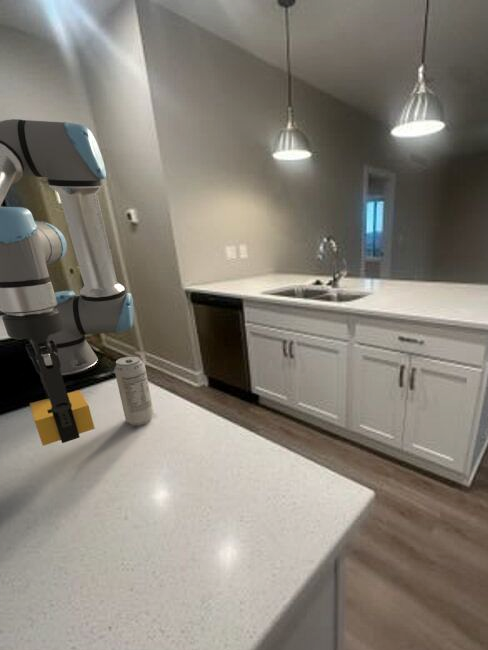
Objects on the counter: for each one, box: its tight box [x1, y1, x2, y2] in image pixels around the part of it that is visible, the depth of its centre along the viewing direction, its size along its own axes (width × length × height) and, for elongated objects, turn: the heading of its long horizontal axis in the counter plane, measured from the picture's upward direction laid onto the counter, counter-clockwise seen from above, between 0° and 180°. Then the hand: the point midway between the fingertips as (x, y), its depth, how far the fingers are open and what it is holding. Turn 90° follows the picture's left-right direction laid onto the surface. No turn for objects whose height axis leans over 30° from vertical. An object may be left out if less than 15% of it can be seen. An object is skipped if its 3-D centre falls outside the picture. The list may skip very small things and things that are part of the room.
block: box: [29, 389, 96, 447], centre depth 63 cm, size 8×8×5 cm
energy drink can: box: [114, 355, 155, 426], centre depth 77 cm, size 6×6×15 cm
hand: (66, 428), depth 64 cm, fingers closed on block, 8 cm apart
